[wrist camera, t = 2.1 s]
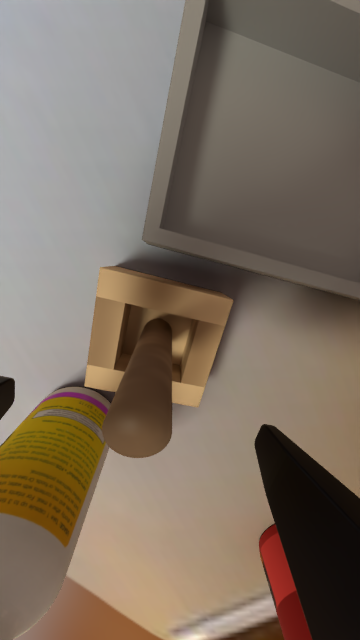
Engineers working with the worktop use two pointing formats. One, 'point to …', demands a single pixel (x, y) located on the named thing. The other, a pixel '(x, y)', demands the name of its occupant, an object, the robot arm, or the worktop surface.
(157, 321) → the pin
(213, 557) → the worktop surface
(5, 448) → the supplement bottle
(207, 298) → the holder
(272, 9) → the tray
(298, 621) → the canned food
